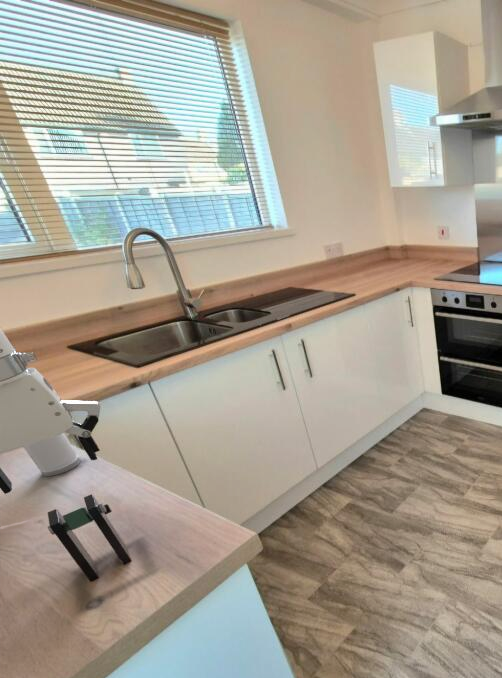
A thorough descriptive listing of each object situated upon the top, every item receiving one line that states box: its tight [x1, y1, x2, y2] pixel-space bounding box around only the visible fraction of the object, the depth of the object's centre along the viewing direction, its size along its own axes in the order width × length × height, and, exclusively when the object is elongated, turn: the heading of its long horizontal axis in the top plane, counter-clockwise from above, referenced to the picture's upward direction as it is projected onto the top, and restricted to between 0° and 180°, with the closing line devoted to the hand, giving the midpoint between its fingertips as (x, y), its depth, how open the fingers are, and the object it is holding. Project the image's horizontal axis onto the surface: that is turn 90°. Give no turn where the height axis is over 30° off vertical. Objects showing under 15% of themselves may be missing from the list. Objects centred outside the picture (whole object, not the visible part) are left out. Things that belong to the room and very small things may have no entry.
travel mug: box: [23, 433, 81, 477], centre depth 90 cm, size 6×7×20 cm
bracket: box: [47, 493, 132, 583], centre depth 65 cm, size 10×8×13 cm
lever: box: [62, 503, 113, 531], centre depth 67 cm, size 13×6×2 cm
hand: (53, 472), depth 66 cm, fingers open, 9 cm apart
